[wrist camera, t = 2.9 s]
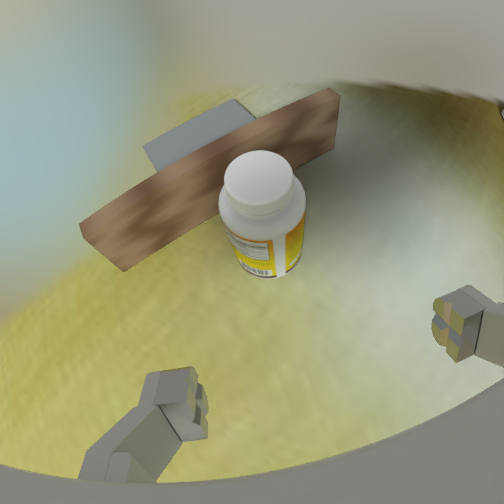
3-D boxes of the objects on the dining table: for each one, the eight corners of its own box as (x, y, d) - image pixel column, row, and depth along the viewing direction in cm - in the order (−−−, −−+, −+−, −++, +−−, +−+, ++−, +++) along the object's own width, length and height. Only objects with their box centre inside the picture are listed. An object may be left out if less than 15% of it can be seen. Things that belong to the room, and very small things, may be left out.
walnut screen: (324, 139, 31) (329, 87, 25) (333, 148, 31) (340, 96, 24) (118, 259, 28) (78, 224, 22) (123, 272, 27) (83, 238, 21)
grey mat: (234, 103, 35) (233, 98, 34) (277, 144, 32) (277, 139, 31) (145, 150, 33) (142, 146, 33) (175, 201, 30) (172, 197, 29)
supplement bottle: (290, 214, 28) (290, 131, 19) (310, 271, 26) (323, 201, 16) (229, 231, 28) (202, 153, 19) (244, 289, 26) (220, 229, 16)
